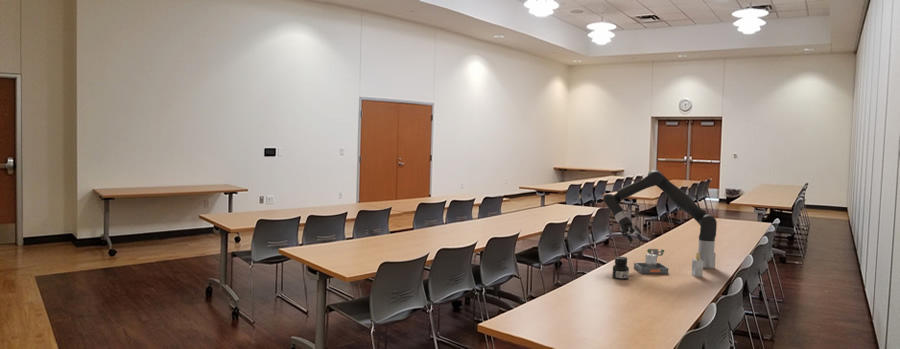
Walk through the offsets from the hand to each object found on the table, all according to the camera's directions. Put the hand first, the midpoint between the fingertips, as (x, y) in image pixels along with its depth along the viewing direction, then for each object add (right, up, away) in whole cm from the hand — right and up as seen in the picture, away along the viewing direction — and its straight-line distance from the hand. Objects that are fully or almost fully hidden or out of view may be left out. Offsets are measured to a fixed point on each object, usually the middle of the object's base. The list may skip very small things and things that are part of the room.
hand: (636, 240), depth 355 cm
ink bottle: (-18, -19, -27) cm, 37 cm away
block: (+6, -17, -9) cm, 20 cm away
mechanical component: (+15, -16, +8) cm, 24 cm away
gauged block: (+30, -19, -19) cm, 40 cm away
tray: (+6, -17, -9) cm, 20 cm away
